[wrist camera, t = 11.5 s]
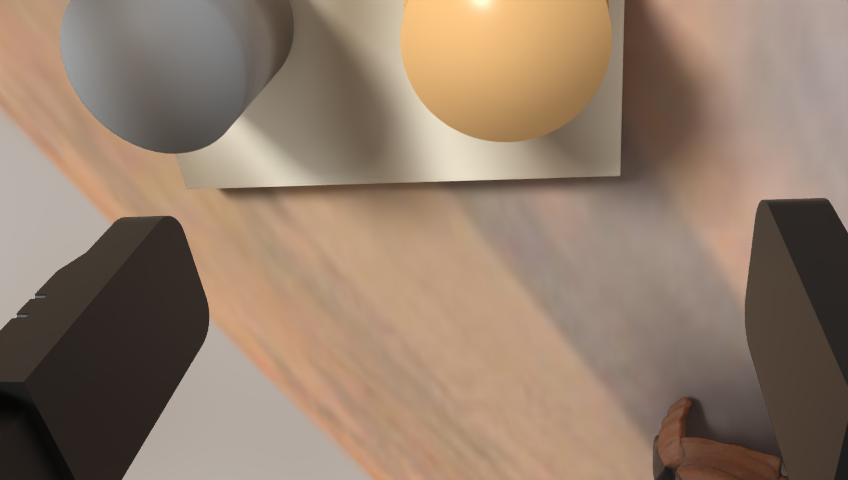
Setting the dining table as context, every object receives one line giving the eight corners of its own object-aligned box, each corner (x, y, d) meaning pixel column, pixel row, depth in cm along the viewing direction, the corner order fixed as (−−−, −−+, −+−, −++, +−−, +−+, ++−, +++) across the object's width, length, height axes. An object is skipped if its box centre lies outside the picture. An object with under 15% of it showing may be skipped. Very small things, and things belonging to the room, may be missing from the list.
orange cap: (603, -109, 22) (614, -75, 18) (601, 73, 25) (610, 138, 21) (417, -91, 23) (387, -55, 19) (436, 82, 26) (413, 146, 22)
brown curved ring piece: (826, 515, 39) (768, 651, 34) (667, 393, 41) (592, 503, 36) (1016, 404, 30) (975, 568, 25) (797, 257, 32) (720, 378, 27)
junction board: (627, -287, 22) (653, -298, 16) (617, 157, 29) (632, 265, 23) (87, -212, 25) (-65, -198, 19) (201, 172, 32) (118, 271, 26)
